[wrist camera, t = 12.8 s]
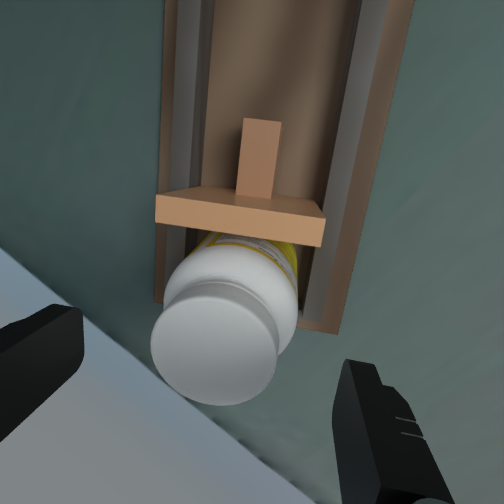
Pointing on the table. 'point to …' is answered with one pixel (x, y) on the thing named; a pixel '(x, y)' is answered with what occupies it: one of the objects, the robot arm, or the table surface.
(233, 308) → the pill bottle
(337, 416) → the robot arm
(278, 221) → the pusher paddle
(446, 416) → the table surface
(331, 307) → the pusher lane
